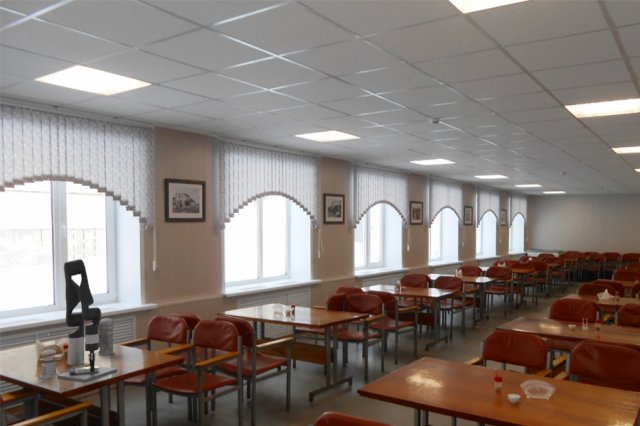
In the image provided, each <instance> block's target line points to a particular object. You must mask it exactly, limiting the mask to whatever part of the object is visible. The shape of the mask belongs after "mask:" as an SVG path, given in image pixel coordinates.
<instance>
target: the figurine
mask: <svg viewBox="0 0 640 426" xmlns="http://www.w3.org/2000/svg"><path fill="white" fill-rule="evenodd" d="M114 329H115V325H114V321H113V319H112V318H109V317H105V318H102V319H100V322H99V326H98V335H99V349H98V352H97V355H98V354H99V355H98V356H108V355H110V356H111V355H114V354H115V352H114Z"/></svg>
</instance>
